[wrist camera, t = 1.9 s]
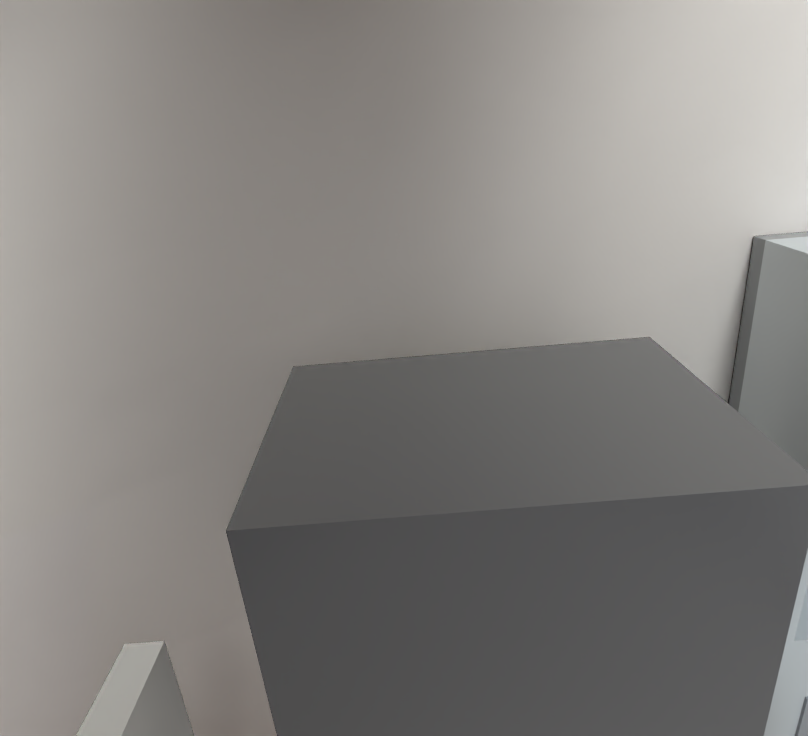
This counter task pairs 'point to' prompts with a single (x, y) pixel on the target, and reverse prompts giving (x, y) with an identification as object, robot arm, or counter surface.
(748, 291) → the socket strip
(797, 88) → the counter surface
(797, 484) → the plug
